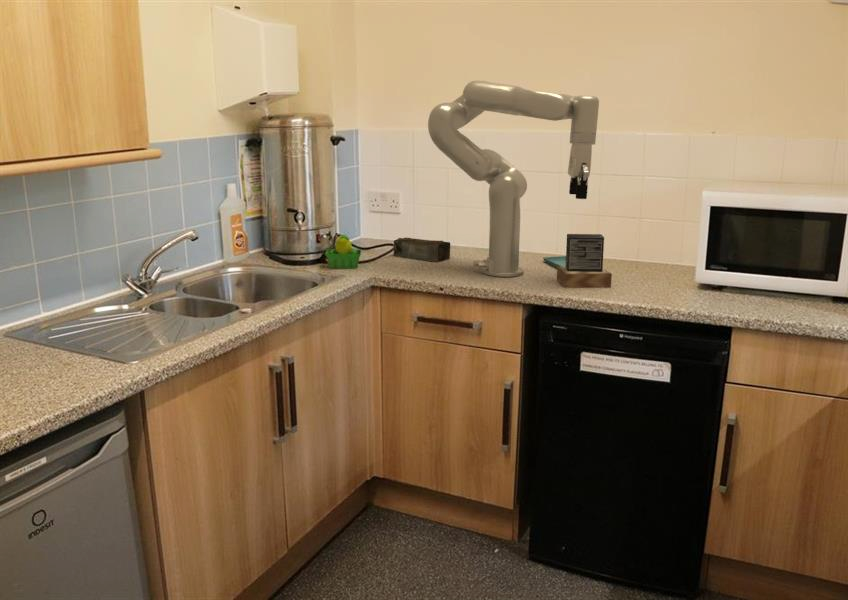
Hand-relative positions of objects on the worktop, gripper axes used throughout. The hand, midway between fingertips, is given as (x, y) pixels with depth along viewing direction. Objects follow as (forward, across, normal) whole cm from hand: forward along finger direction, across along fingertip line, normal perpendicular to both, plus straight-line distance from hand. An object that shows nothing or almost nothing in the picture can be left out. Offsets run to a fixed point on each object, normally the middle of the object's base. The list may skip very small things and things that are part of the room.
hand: (577, 196), depth 239 cm
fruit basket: (+28, -16, -72) cm, 78 cm away
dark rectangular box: (+28, -32, -46) cm, 62 cm away
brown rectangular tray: (+25, +6, +3) cm, 26 cm away
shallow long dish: (+26, -13, +3) cm, 30 cm away
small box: (+21, +6, +2) cm, 22 cm away
